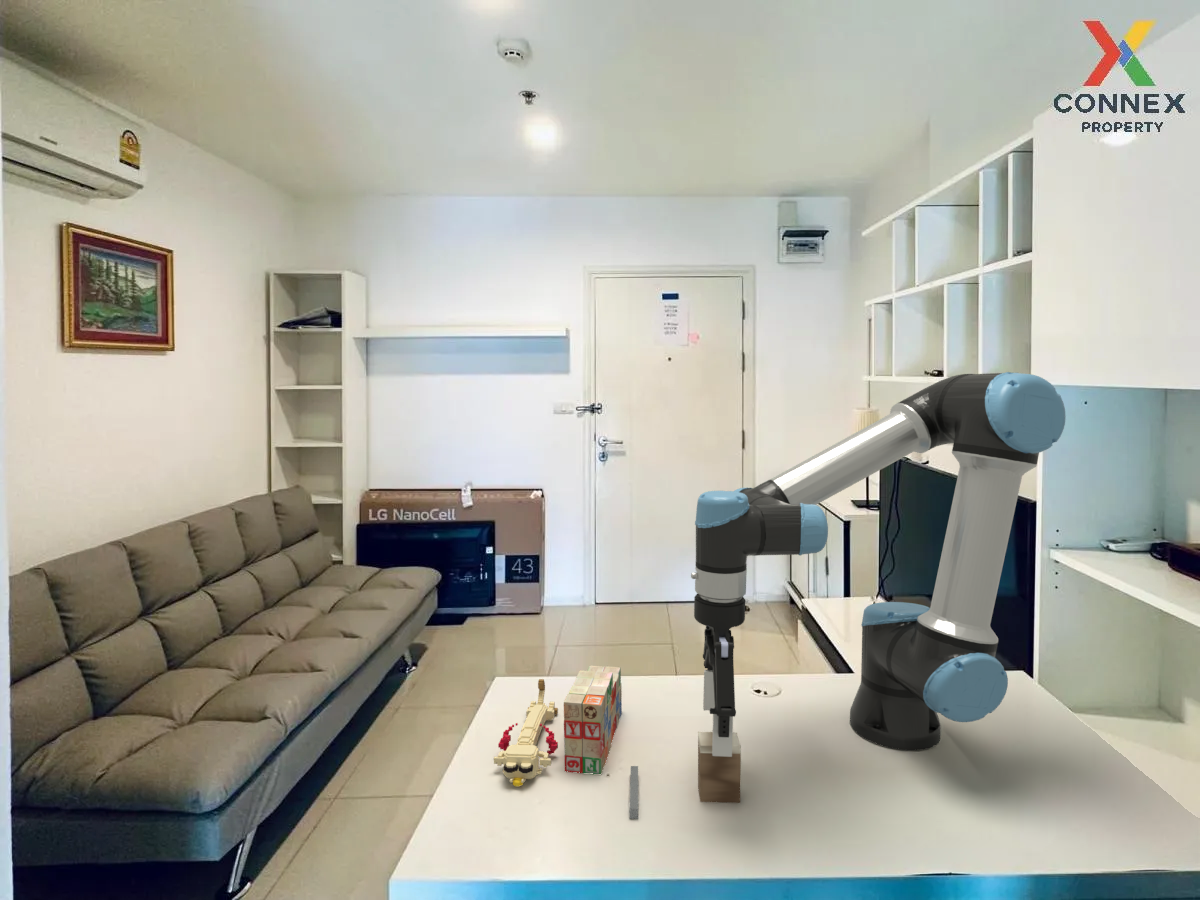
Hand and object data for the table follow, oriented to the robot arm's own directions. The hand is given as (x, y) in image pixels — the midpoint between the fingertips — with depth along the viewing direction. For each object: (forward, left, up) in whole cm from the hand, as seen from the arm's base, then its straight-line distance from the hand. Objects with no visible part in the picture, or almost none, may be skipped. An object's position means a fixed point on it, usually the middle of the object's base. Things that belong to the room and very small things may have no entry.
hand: (716, 731), depth 103 cm
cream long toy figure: (+31, -12, -11) cm, 35 cm away
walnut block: (0, 0, -10) cm, 10 cm away
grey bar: (+13, +1, -10) cm, 16 cm away
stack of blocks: (+20, -15, -11) cm, 27 cm away
